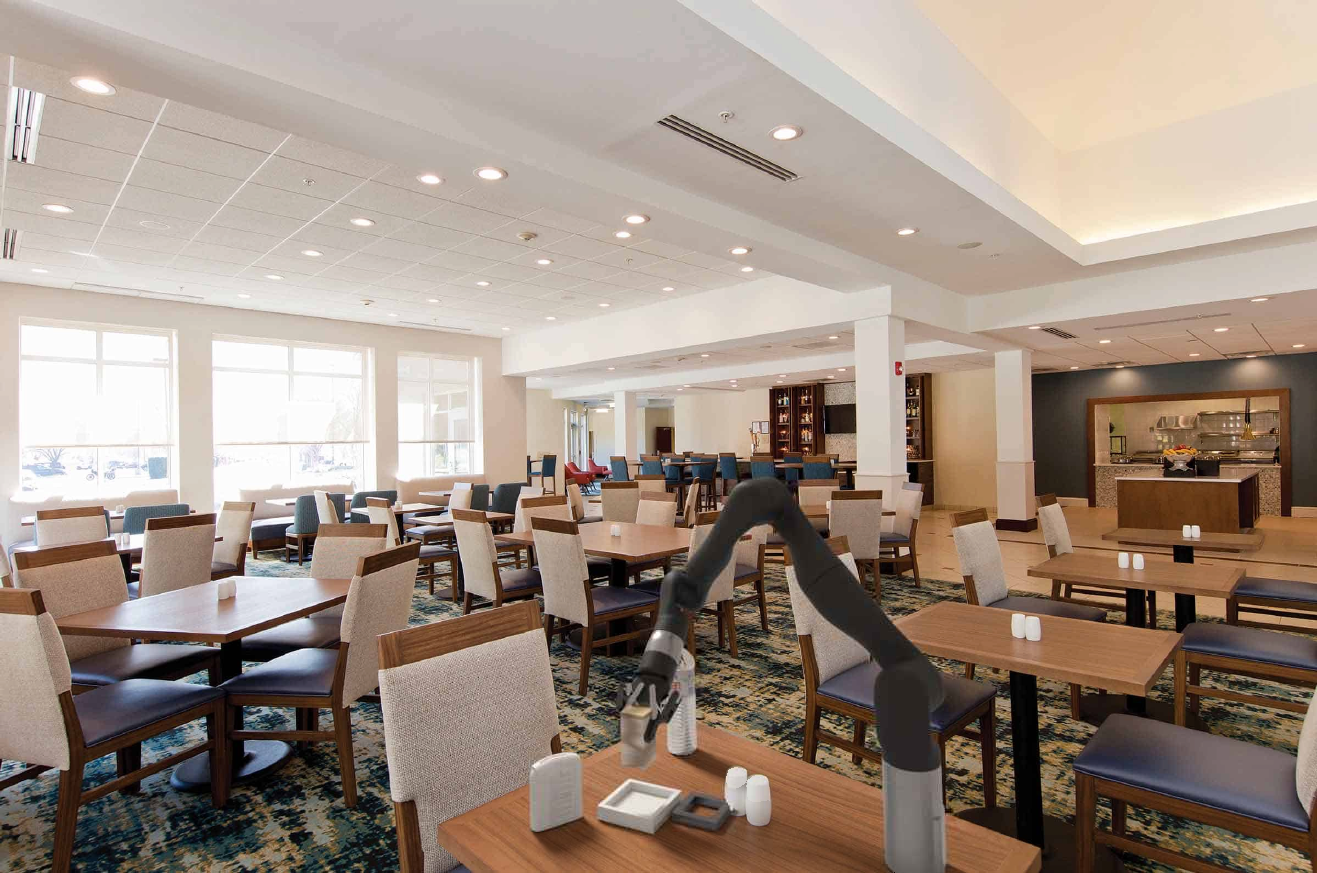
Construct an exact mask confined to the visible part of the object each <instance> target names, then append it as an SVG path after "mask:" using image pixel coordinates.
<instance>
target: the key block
mask: <svg viewBox="0 0 1317 873" xmlns="http://www.w3.org/2000/svg"><path fill="white" fill-rule="evenodd" d="M651 712H652V709H651V708H650V706H644V705H639V704H636V705H633V706H629V707H627V708H626V709H624V710H623V711H621V712H620V713H619V716H620V719H621V737H620V758H621V759H620V761H621V762H620V764H621V766H625V767H629V768H633V769H638V770H643V771H645V770H646V769H647V768H649V767H650V765H651V764H653V763H654V762H656V761H657V734H656V735H655V738H654V739H653V741H651V742H650V743H646V742H645V741H644V734H645V731H646V728H647V725H648V722H649V720H651Z"/></svg>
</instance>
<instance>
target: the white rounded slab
mask: <svg viewBox="0 0 1317 873" xmlns="http://www.w3.org/2000/svg"><path fill="white" fill-rule="evenodd" d="M582 817H583V764H582V758H581V756H580V755H579V754H578V753H575V752H560V753H556V754H551V755H548V756H546V757H544V758H542V759H540V760H538V761H537V762H535V763H534V764H532V765H531V766H530V769H529V820H530V821H529V822H530V824H529V825H530V829H531V831H533V832H536V833H537V832H543V831H546V830H549V829H552V828H556V827H559V826H562V825H565V824H567V823H571V822H574V821H577V820H580V819H581V818H582Z"/></svg>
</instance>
